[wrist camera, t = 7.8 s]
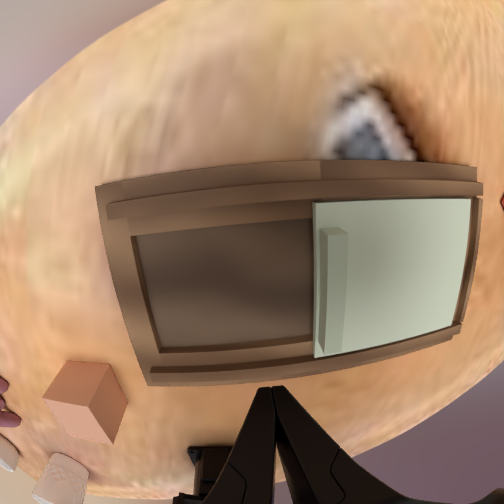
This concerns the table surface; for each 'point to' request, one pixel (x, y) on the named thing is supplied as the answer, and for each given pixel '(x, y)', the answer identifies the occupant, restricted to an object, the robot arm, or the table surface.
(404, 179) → the board
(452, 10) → the table surface
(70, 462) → the white cup
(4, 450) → the teacup
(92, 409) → the block
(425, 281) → the lid
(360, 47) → the table surface
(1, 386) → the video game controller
